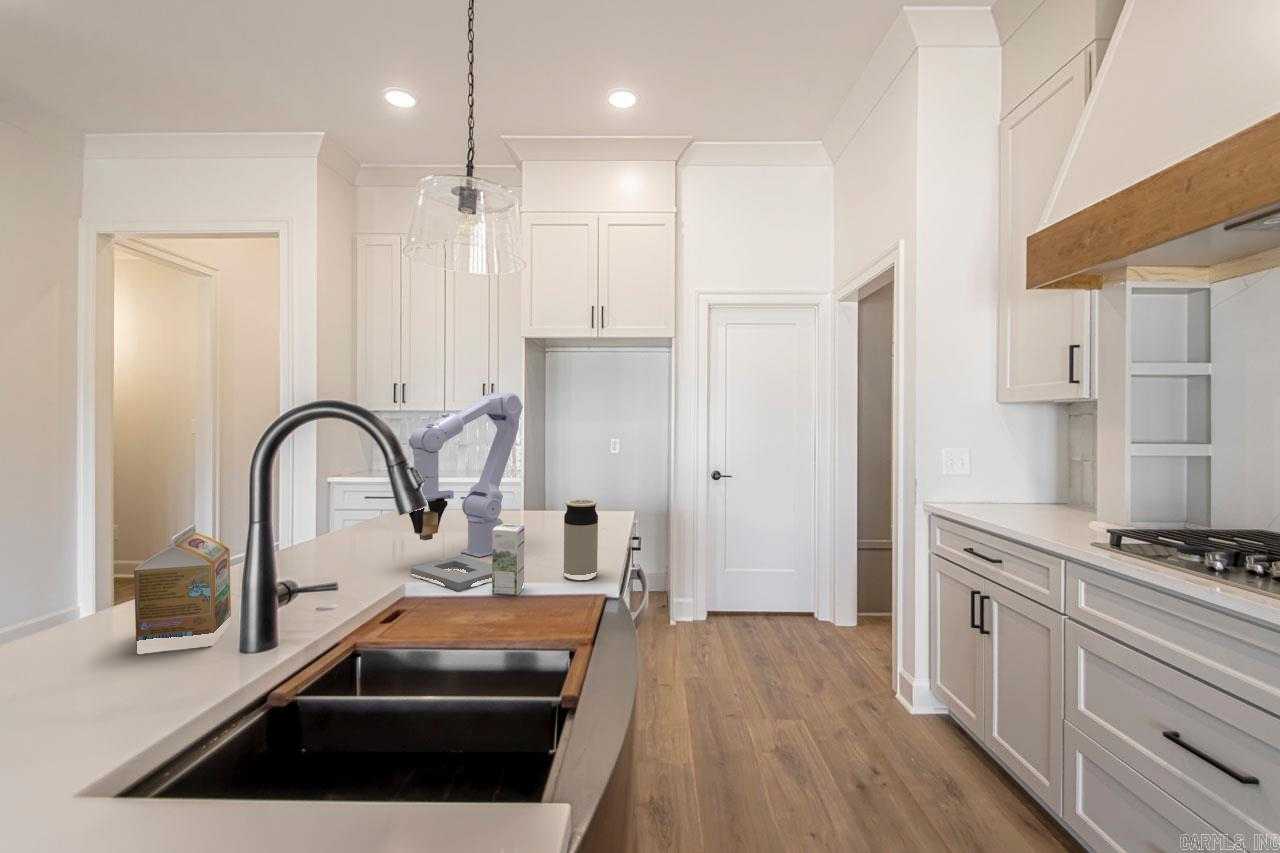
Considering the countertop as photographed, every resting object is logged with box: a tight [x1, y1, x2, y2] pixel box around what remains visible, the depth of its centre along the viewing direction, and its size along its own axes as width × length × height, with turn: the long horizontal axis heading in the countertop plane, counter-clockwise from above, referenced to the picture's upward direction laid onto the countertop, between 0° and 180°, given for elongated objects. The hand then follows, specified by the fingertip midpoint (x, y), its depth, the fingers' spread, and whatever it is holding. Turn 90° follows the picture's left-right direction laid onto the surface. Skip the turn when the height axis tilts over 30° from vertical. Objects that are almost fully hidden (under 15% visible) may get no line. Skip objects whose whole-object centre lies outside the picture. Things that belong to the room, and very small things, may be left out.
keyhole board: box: [410, 554, 492, 593], centre depth 142 cm, size 14×18×2 cm
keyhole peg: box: [413, 510, 439, 541], centre depth 149 cm, size 4×4×6 cm
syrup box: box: [491, 523, 526, 596], centre depth 132 cm, size 6×6×14 cm
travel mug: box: [563, 498, 599, 575], centre depth 143 cm, size 8×8×18 cm
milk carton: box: [133, 524, 232, 642], centre depth 104 cm, size 11×11×19 cm
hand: (426, 530), depth 149 cm, fingers closed on keyhole peg, 4 cm apart
